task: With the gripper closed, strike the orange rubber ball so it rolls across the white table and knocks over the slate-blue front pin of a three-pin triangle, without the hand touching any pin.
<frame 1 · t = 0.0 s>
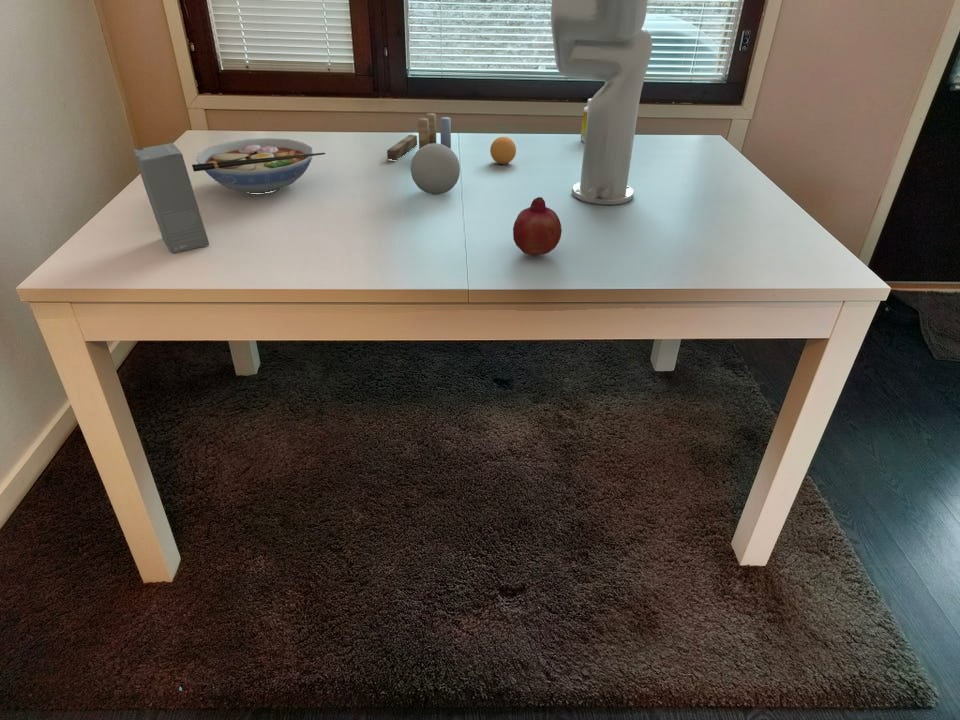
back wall: (403, 153, 156), on the table
front pin: (445, 157, 154), on the table
left rear pin: (424, 158, 153), on the table
ramen bowl: (262, 189, 134), on the table
ball: (436, 194, 133), on the table
fruit: (535, 255, 109), on the table
right rear pin: (431, 152, 157), on the table
supplement bottle: (591, 141, 168), on the table
skincare box: (183, 243, 111), on the table
orange ball: (503, 150, 149), on the table
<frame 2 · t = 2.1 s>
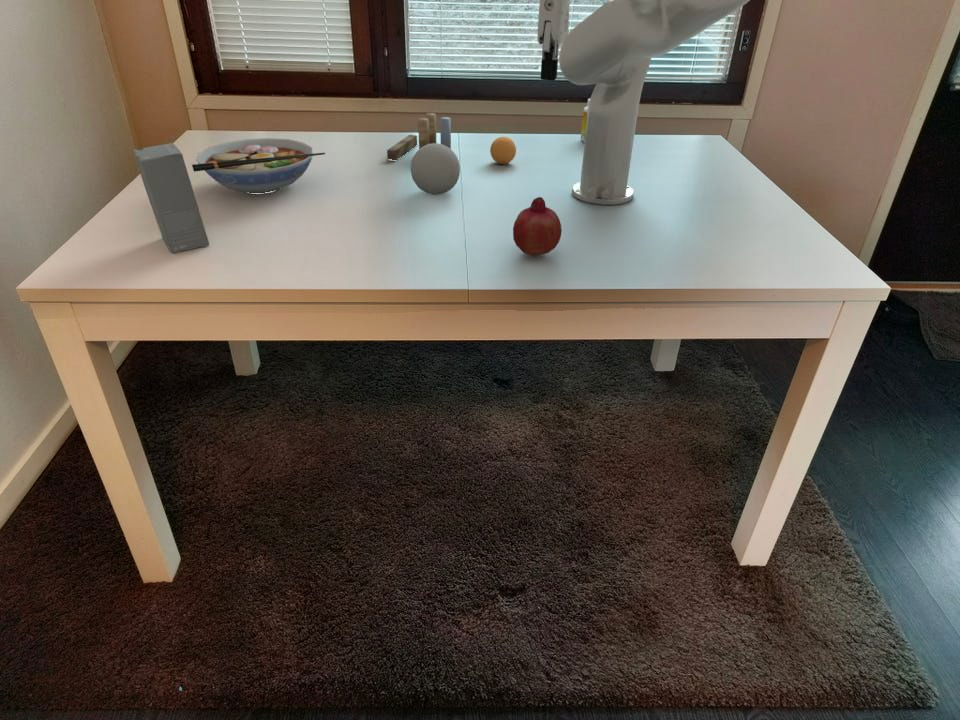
hand: (548, 79, 138), 19 cm above the table, tool pointing down, fingers closed
nothing on the table moved.
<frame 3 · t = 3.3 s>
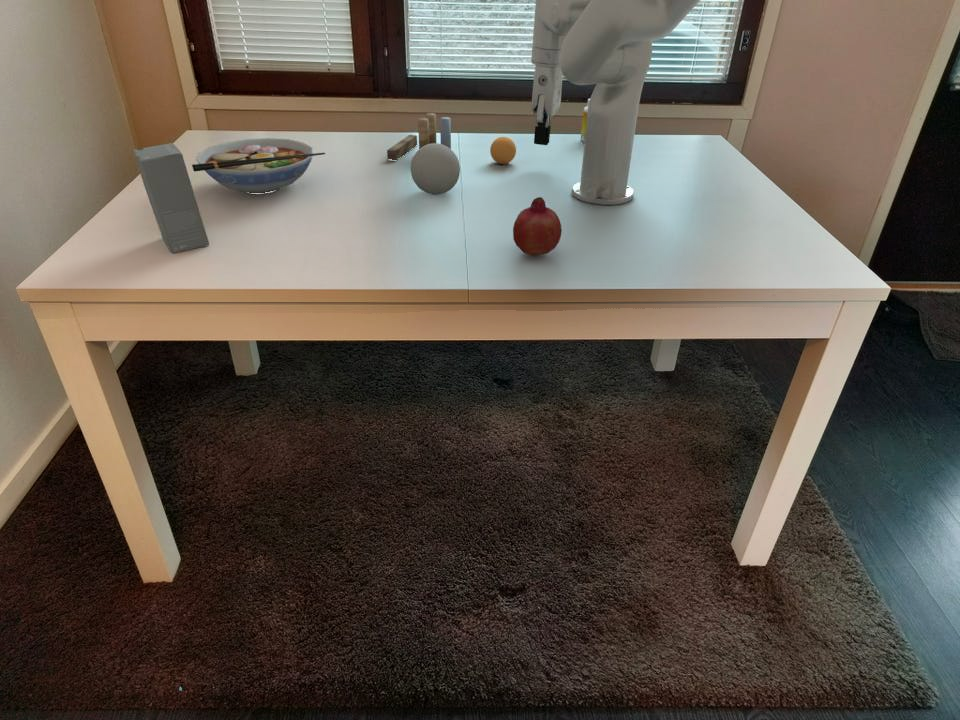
hand: (541, 143, 146), 5 cm above the table, tool pointing down, fingers closed
nothing on the table moved.
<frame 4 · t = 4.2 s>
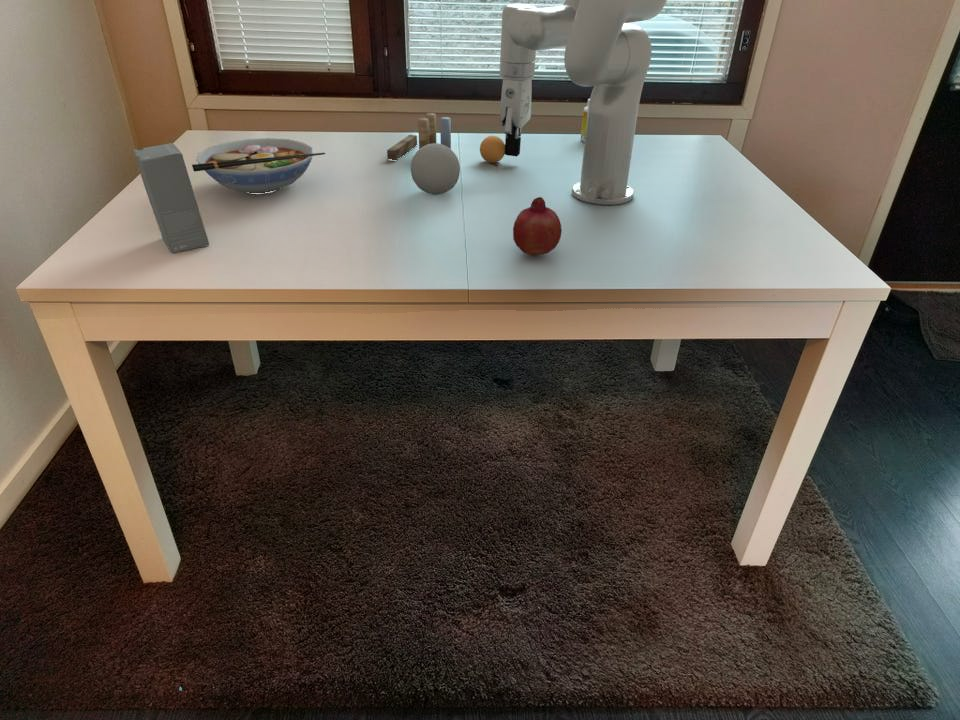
hand: (512, 154, 149), 2 cm above the table, tool pointing down, fingers closed
orange ball: (492, 149, 149), on the table
everything else where it was.
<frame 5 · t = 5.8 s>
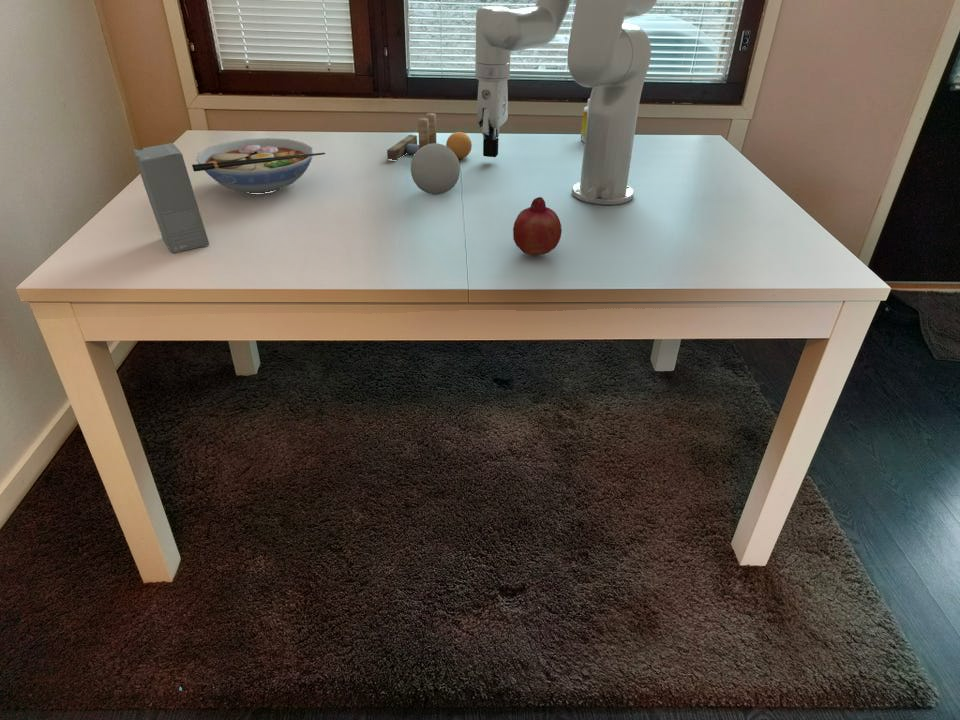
hand: (490, 155, 150), 2 cm above the table, tool pointing down, fingers closed
front pin: (443, 152, 153), point 1 cm above the table, tilted 90°
orange ball: (458, 145, 152), on the table
everything else where it was.
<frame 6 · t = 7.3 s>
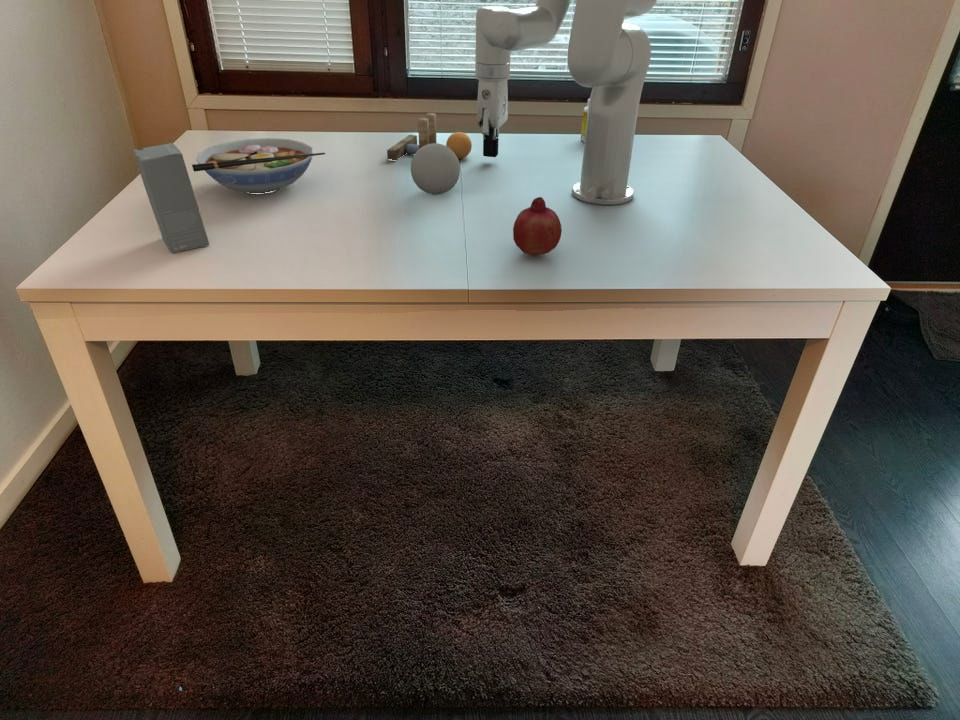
hand: (490, 155, 150), 2 cm above the table, tool pointing down, fingers closed
nothing on the table moved.
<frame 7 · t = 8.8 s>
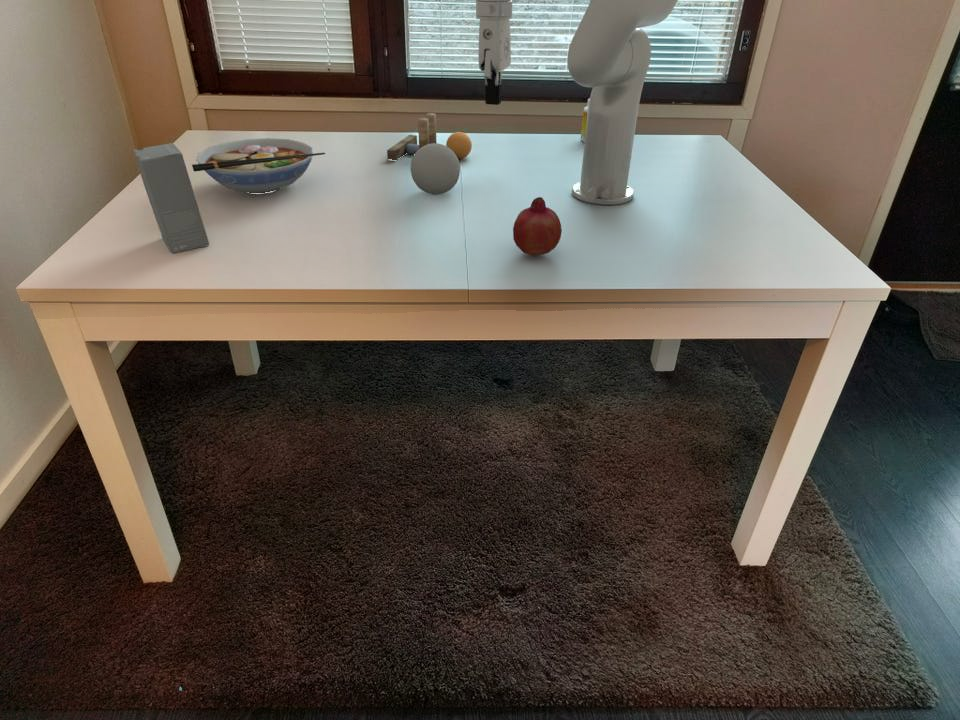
hand: (493, 103, 144), 13 cm above the table, tool pointing down, fingers closed
nothing on the table moved.
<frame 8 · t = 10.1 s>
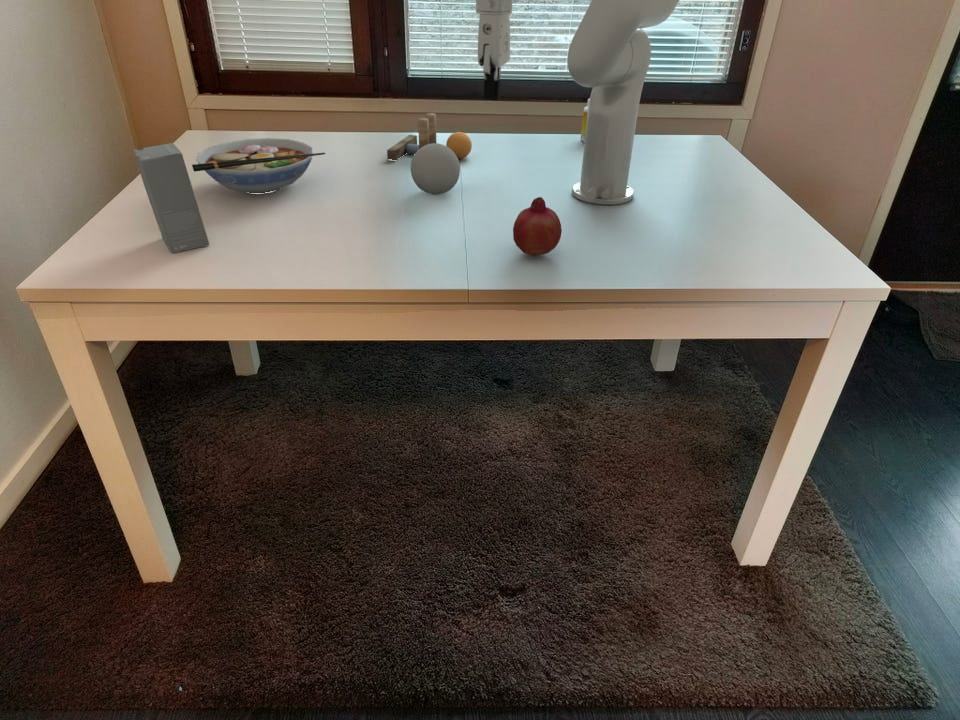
hand: (491, 98, 143), 14 cm above the table, tool pointing down, fingers closed
nothing on the table moved.
at the end: front pin tilted 90°; front pin never touched the robot; orange ball moved 10.9 cm from its start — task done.
